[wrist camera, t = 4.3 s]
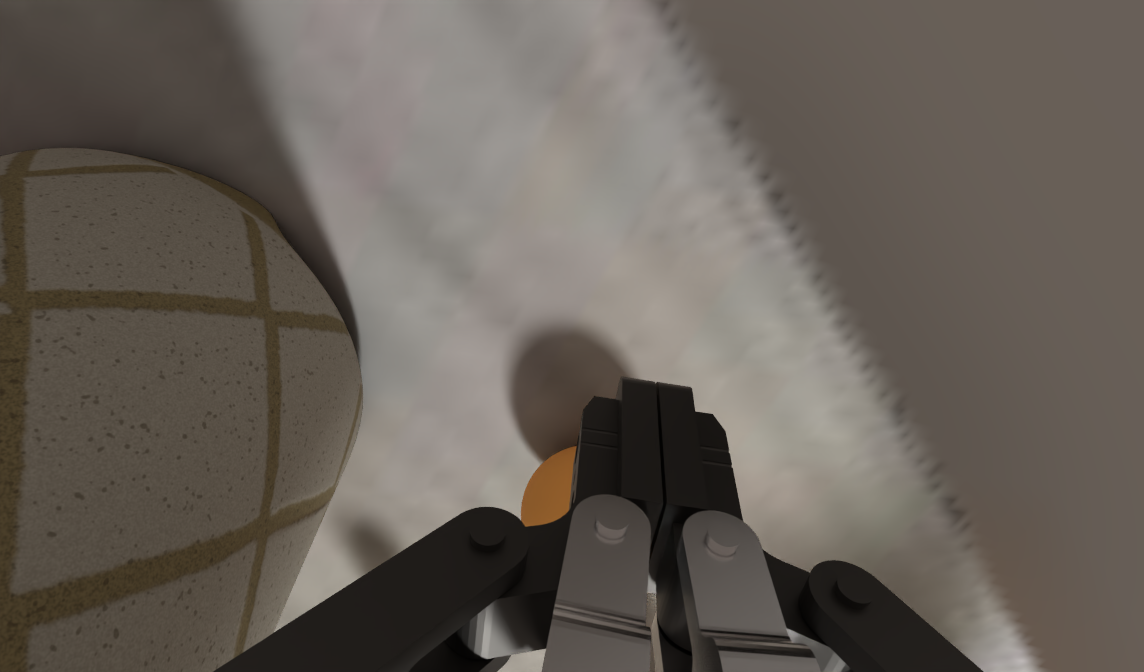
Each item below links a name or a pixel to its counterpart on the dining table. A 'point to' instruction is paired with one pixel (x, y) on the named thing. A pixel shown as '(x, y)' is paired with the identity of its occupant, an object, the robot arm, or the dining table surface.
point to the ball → (549, 490)
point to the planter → (156, 415)
